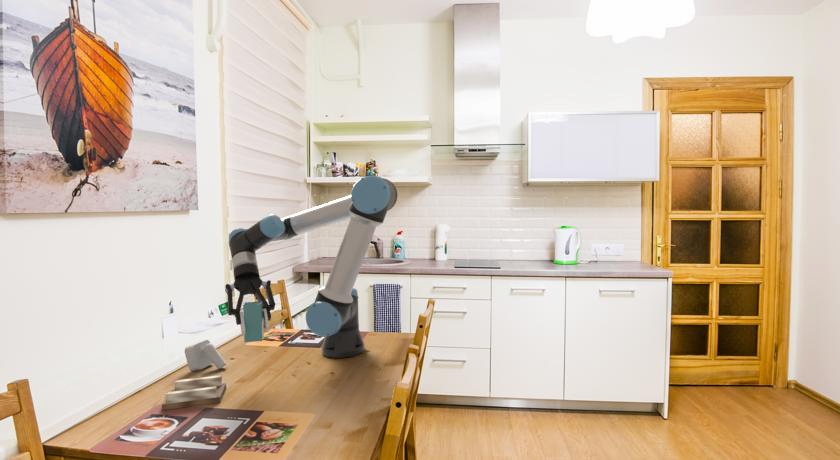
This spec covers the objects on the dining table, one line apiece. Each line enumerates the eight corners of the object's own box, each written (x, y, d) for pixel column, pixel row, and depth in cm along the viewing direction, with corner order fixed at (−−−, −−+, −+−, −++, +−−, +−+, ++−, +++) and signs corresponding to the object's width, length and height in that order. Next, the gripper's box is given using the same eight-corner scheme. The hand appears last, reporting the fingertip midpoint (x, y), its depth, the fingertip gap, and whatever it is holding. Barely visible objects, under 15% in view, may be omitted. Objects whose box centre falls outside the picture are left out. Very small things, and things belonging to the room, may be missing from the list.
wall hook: (218, 371, 140) (210, 341, 140) (191, 378, 142) (183, 348, 142) (234, 363, 148) (226, 334, 148) (208, 369, 150) (200, 340, 150)
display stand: (226, 388, 128) (225, 374, 128) (220, 402, 118) (219, 387, 118) (172, 394, 124) (171, 381, 124) (162, 410, 115) (161, 395, 115)
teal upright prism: (263, 336, 135) (262, 301, 135) (262, 340, 131) (261, 304, 130) (246, 338, 134) (245, 302, 134) (244, 342, 130) (243, 305, 129)
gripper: (274, 273, 150) (286, 333, 136) (213, 278, 140) (220, 343, 127) (277, 259, 145) (290, 319, 131) (213, 264, 135) (221, 329, 122)
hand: (255, 331), depth 129 cm, fingers closed on teal upright prism, 6 cm apart
